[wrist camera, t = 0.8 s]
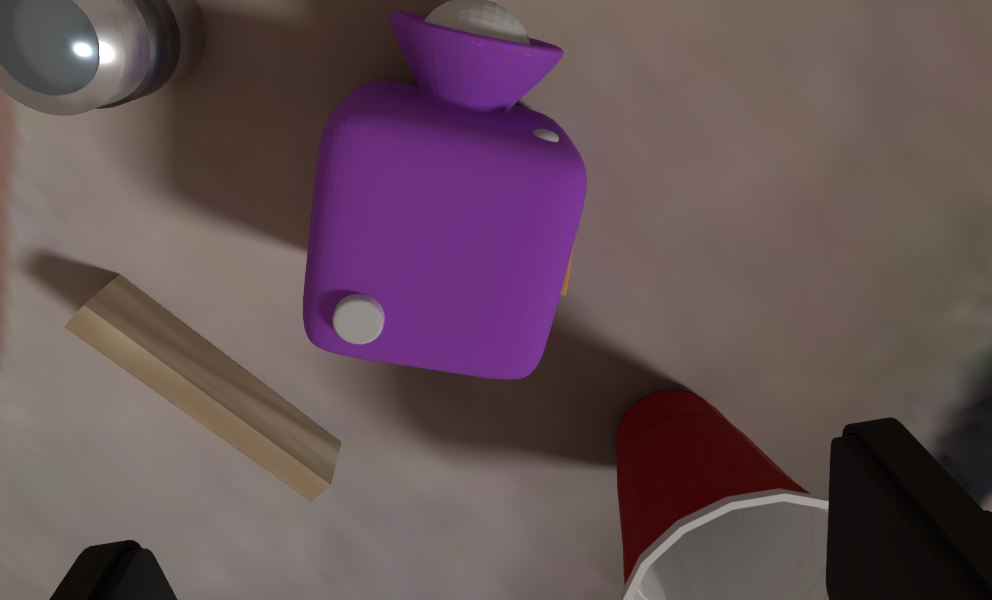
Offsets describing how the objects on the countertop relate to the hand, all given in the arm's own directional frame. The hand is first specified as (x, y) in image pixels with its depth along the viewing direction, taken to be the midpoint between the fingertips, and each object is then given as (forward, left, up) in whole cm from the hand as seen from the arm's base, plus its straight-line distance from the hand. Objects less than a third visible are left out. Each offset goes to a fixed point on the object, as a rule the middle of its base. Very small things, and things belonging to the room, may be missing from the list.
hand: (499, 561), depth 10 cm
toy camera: (+1, -1, -25) cm, 25 cm away
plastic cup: (+3, +19, -25) cm, 31 cm away
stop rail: (+17, -1, -25) cm, 30 cm away
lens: (+6, -13, -25) cm, 28 cm away
